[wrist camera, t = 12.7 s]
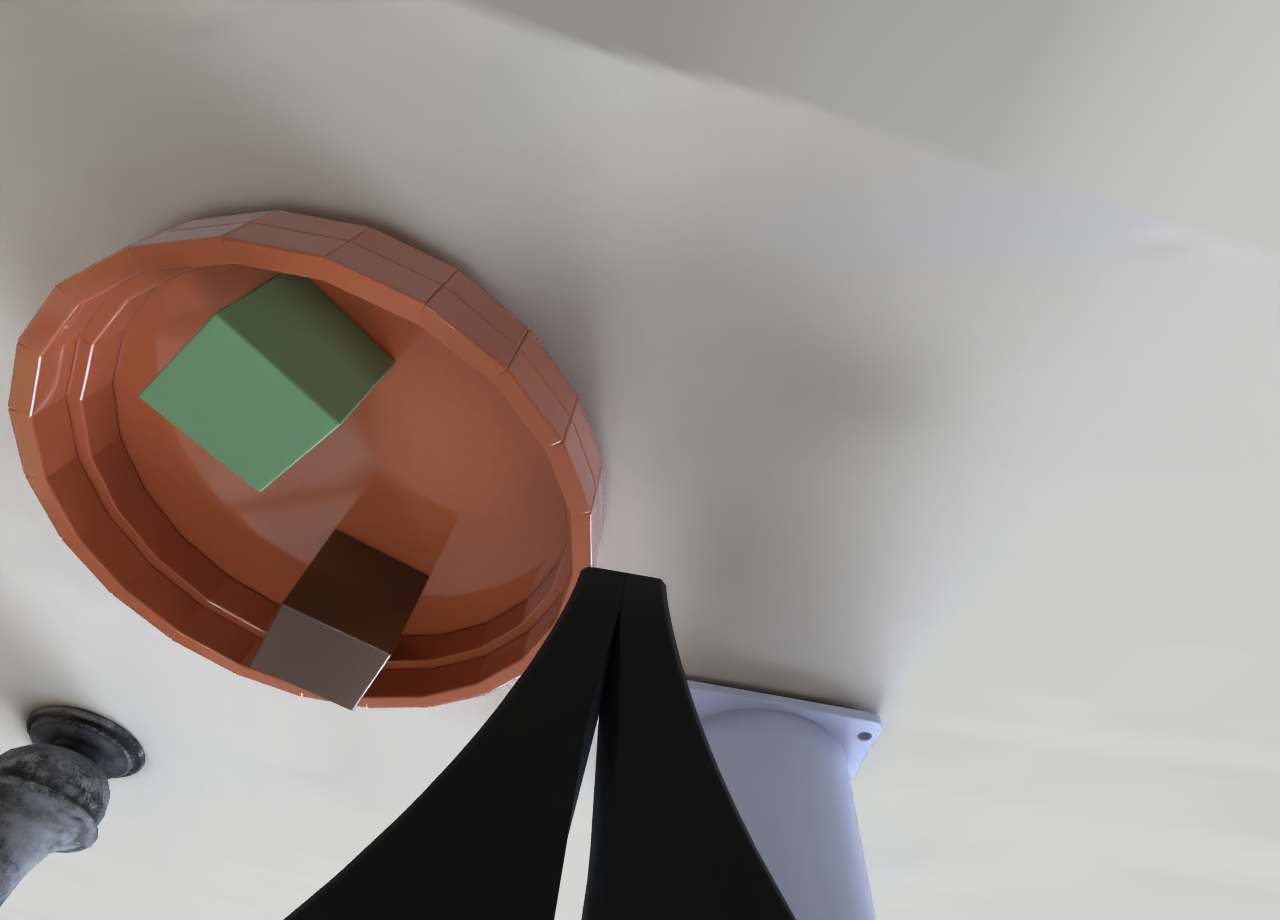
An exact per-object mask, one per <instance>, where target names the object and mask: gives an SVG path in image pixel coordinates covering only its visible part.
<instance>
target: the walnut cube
mask: <svg viewBox="0 0 1280 920" xmlns="http://www.w3.org/2000/svg"><path fill="white" fill-rule="evenodd" d="M428 579H429V576H428V575H426V574H424V573H422V572H420V571H418V570H416V569H414V568H412V567H410V566H408V565H406V564H404V563H402V562H400V561H398V560H396V559H394V558H392V557H390V556H388V555H386V554H384V553H382V552H380V551H378V550H376V549H374V548H372V547H370V546H368V545H366V544H364V543H362V542H360V541H358V540H356V539H354V538H352V537H350V536H348V535H346V534H344V533H342V532H340V531H338V530H334V531H333V532H332V534H331V535H330V537H329V538H328V539H327V541H326V542H325V544H324V545H323V546H322V548H321V549H320V551H319V552H318V553H317V555H316V556H315V558H314V559H313V560H312V562H311V563H310V564H309V566H308V567H307V569H306V570H305V571H304V573H303V574H302V576H301V577H300V578H299V580H298V581H297V583H296V584H295V585H294V587H293V588H292V590H291V591H290V592H289V594H288V595H287V597H286V598H285V599H284V601H283V602H282V603H281V605H280V607H279V609H278V611H277V613H276V615H275V617H274V619H273V621H272V623H271V625H270V627H269V629H268V631H267V633H266V635H265V637H264V639H263V641H262V643H261V645H260V647H259V649H258V651H257V653H256V655H255V657H254V659H253V661H252V663H251V667H253V668H255V669H257V670H260V671H262V672H264V673H267V674H269V675H271V676H273V677H276V678H278V679H280V680H283V681H285V682H287V683H290V684H292V685H294V686H297V687H299V688H301V689H303V690H306V691H308V692H310V693H313V694H315V695H317V696H320V697H322V698H324V699H326V700H329V701H331V702H333V703H336V704H338V705H340V706H343V707H345V708H347V709H349V710H354V709H355V707H356V706H357V704H358V703H359V701H360V700H361V698H362V697H363V695H364V694H365V693H366V691H367V690H368V688H369V687H370V685H371V684H372V682H373V681H374V680H375V678H376V677H377V675H378V674H379V672H380V671H381V669H382V668H383V666H384V665H385V664H386V662H387V661H388V659H389V658H390V656H391V655H392V653H393V651H394V649H395V647H396V645H397V643H398V641H399V639H400V637H401V634H402V632H403V630H404V628H405V626H406V624H407V622H408V620H409V618H410V616H411V614H412V612H413V610H414V608H415V606H416V604H417V602H418V600H419V598H420V596H421V594H422V592H423V590H424V587H425V585H426V583H427V581H428Z"/></svg>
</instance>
